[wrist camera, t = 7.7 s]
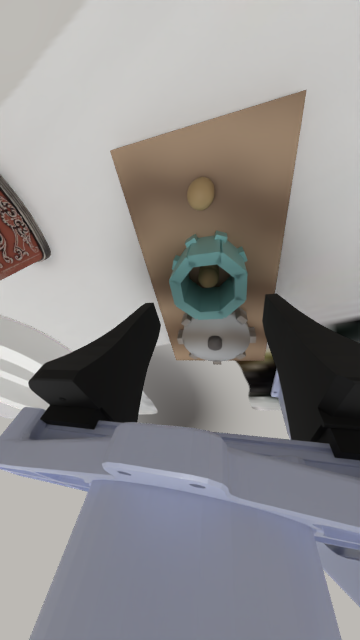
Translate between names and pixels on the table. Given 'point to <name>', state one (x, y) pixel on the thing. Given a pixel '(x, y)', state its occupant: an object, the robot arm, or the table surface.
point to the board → (215, 215)
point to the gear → (216, 298)
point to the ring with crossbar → (24, 361)
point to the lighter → (18, 234)
